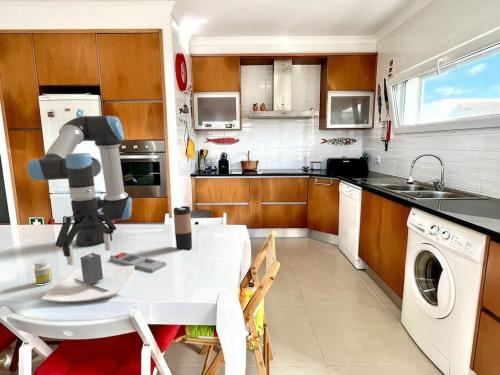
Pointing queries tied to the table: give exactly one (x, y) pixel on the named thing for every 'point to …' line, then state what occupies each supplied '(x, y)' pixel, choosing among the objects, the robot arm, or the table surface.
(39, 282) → the supplement bottle
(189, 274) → the table surface
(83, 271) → the block
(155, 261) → the power strip
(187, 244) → the travel mug
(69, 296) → the plate
